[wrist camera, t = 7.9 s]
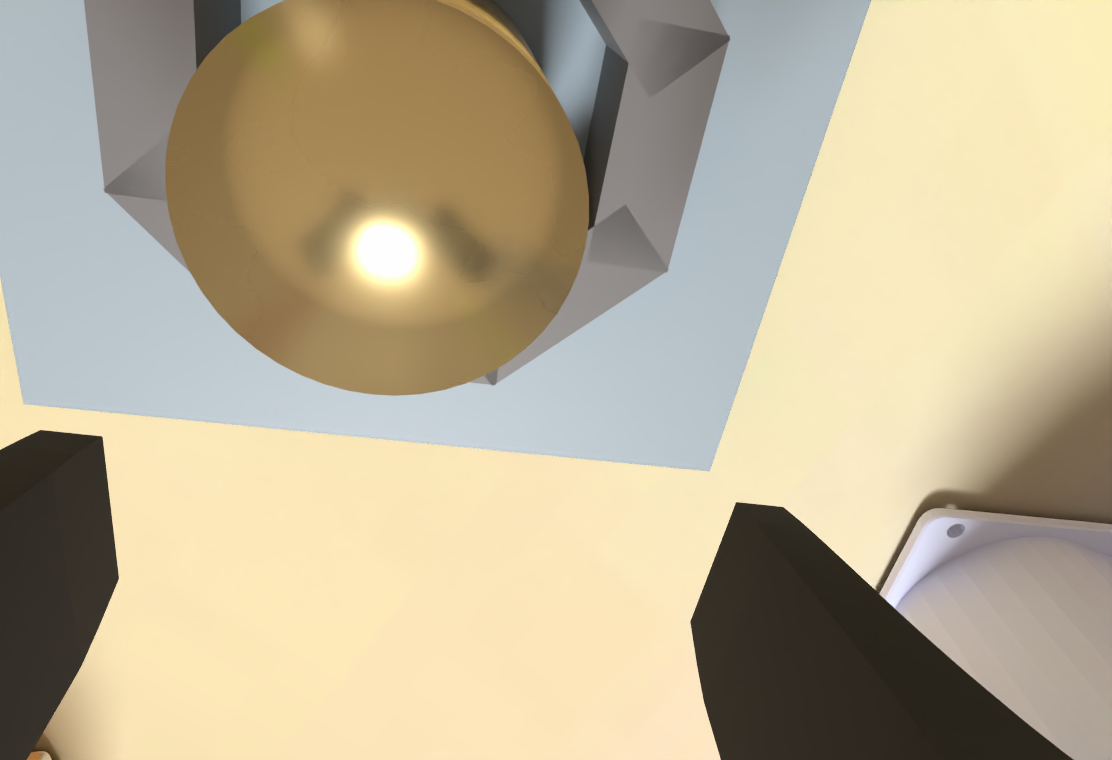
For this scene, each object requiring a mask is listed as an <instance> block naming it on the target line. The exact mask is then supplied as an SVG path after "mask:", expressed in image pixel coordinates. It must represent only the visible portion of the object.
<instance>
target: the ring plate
mask: <svg viewBox="0 0 1112 760" xmlns="http://www.w3.org/2000/svg"><path fill="white" fill-rule="evenodd" d="M282 1H285V0H0V279H1V285H2V290H3V295H4V301H5V306H6V311H7V317H8V322H9V327H10V333H11V338H12V343H13V349H14V354H15V360H16V365H17V370H18V376H19V381H20V386H21V392H22V397H23V402H24V404H29V405H39V406H49V407H59V408H69V409H80V410H90V411H100V412H110V413H120V414H131V415H141V416H151V417H161V418H171V419H182V420H192V421H202V422H212V423H222V424H232V425H243V426H253V427H263V428H273V429H283V430H294V431H304V432H314V433H324V434H334V435H344V436H355V437H365V438H375V439H385V440H395V441H406V442H416V443H426V444H436V445H446V446H457V447H467V448H477V449H487V450H497V451H507V452H518V453H528V454H538V455H548V456H558V457H569V458H579V459H589V460H599V461H609V462H620V463H630V464H640V465H650V466H660V467H670V468H681V469H691V470H701V471H710V469H711V466H712V463H713V460H714V457H715V454H716V451H717V448H718V445H719V442H720V439H721V436H722V434H723V431H724V428H725V425H726V422H727V419H728V416H729V413H730V410H731V407H732V404H733V401H734V399H735V396H736V393H737V390H738V387H739V384H740V381H741V378H742V375H743V372H744V369H745V366H746V364H747V361H748V358H749V355H750V352H751V349H752V346H753V343H754V340H755V337H756V334H757V331H758V329H759V326H760V323H761V320H762V317H763V314H764V311H765V308H766V305H767V302H768V299H769V296H770V294H771V291H772V288H773V285H774V282H775V279H776V276H777V273H778V270H779V267H780V264H781V261H782V259H783V256H784V253H785V250H786V247H787V244H788V241H789V238H790V235H791V232H792V229H793V226H794V224H795V221H796V218H797V215H798V212H799V209H800V206H801V203H802V200H803V197H804V194H805V191H806V189H807V186H808V183H809V180H810V177H811V174H812V171H813V168H814V165H815V162H816V159H817V156H818V154H819V151H820V148H821V145H822V142H823V139H824V136H825V133H826V130H827V127H828V124H829V121H830V119H831V116H832V113H833V110H834V107H835V104H836V101H837V98H838V95H839V92H840V89H841V86H842V84H843V81H844V78H845V75H846V72H847V69H848V66H849V63H850V60H851V57H852V54H853V51H854V49H855V46H856V43H857V40H858V37H859V34H860V31H861V28H862V25H863V22H864V19H865V16H866V14H867V11H868V8H869V5H870V2H871V0H493V1H495V2H496V3H497V4H498V5H499V6H500V7H501V8H502V9H503V10H504V11H505V12H506V13H507V15H508V16H509V17H510V18H511V20H512V21H513V22H514V24H515V25H516V26H517V28H518V29H519V31H520V32H521V34H522V36H523V38H524V39H525V41H526V43H527V45H528V46H529V48H530V50H531V52H532V54H533V55H534V57H535V59H536V61H537V63H538V64H539V66H540V68H541V70H542V72H543V73H544V75H545V77H546V79H547V81H548V82H549V84H550V86H551V88H552V90H553V91H554V93H555V95H556V97H557V99H558V100H559V102H560V104H561V106H562V108H563V109H564V111H565V113H566V115H567V117H568V119H569V121H570V124H571V126H572V129H573V131H574V134H575V136H576V138H577V141H578V143H579V147H580V151H581V155H582V158H583V162H584V166H585V170H586V177H587V185H588V193H589V224H588V232H587V239H586V246H585V250H584V254H583V258H582V261H581V265H580V268H579V272H578V274H577V276H576V279H575V281H574V283H573V286H572V288H571V290H570V293H569V294H568V296H567V298H566V300H565V301H564V303H563V305H562V306H561V308H560V310H559V311H558V313H557V314H556V316H555V317H554V318H553V320H552V321H551V322H550V323H549V325H548V326H547V327H546V329H545V330H544V331H543V332H542V333H541V334H540V335H539V336H538V337H537V338H536V339H535V340H534V341H533V342H532V343H531V344H530V345H529V346H528V347H527V348H526V349H525V350H523V351H522V352H521V353H519V354H518V355H517V356H515V357H514V358H513V359H512V360H510V361H509V362H508V363H506V364H504V365H502V366H501V367H499V368H497V369H496V370H494V371H492V372H490V373H489V374H487V375H484V376H482V377H480V378H478V379H475V380H473V381H471V382H468V383H466V384H462V385H459V386H456V387H452V388H449V389H446V390H441V391H436V392H430V393H425V394H416V395H400V396H392V395H372V394H366V393H359V392H353V391H347V390H344V389H340V388H336V387H332V386H329V385H325V384H322V383H320V382H317V381H314V380H312V379H309V378H307V377H304V376H302V375H299V374H297V373H296V372H294V371H292V370H290V369H288V368H286V367H284V366H282V365H280V364H278V363H277V362H275V361H274V360H272V359H271V358H269V357H268V356H266V355H265V354H263V353H262V352H260V351H259V350H257V349H256V348H254V347H253V346H252V345H251V344H250V343H248V342H247V341H246V340H245V339H244V338H243V337H241V336H240V335H239V334H238V333H237V332H235V331H234V329H233V328H232V327H231V326H230V325H229V324H228V323H227V322H226V321H225V320H224V319H223V318H222V317H221V316H220V315H219V314H218V313H217V311H216V310H215V309H214V307H213V306H212V305H211V303H210V302H209V301H208V299H207V298H206V297H205V295H204V294H203V293H202V291H201V290H200V288H199V287H198V285H197V283H196V281H195V280H194V278H193V276H192V274H191V273H190V271H189V269H188V268H187V265H186V263H185V261H184V258H183V256H182V254H181V251H180V249H179V246H178V244H177V242H176V238H175V235H174V231H173V227H172V224H171V220H170V217H169V211H168V204H167V197H166V190H165V158H166V151H167V145H168V138H169V132H170V128H171V125H172V122H173V119H174V115H175V112H176V109H177V106H178V103H179V101H180V99H181V97H182V95H183V93H184V91H185V89H186V87H187V85H188V83H189V81H190V79H191V77H192V76H193V75H194V73H195V72H196V70H197V69H198V67H199V66H200V65H201V63H202V62H203V60H204V59H205V57H206V56H207V55H208V54H209V53H210V52H211V51H212V50H213V49H214V48H215V47H216V46H217V45H218V44H219V43H220V42H221V40H222V39H223V38H224V37H225V36H226V35H227V34H229V33H230V32H231V31H233V30H234V29H235V28H237V27H238V26H239V25H241V24H242V23H244V22H245V21H246V20H248V19H249V18H250V17H252V16H254V15H256V14H258V13H260V12H261V11H263V10H265V9H267V8H269V7H271V6H273V5H275V4H277V3H279V2H282Z"/></svg>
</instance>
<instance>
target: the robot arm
mask: <svg viewBox="0 0 1112 760" xmlns="http://www.w3.org/2000/svg"><path fill="white" fill-rule="evenodd" d="M953 525H954V526H953ZM951 526H952V527H951ZM118 579H119V576H118V567H117V559H116V550H115V541H114V533H113V524H112V516H111V507H110V498H109V490H108V481H107V473H106V464H105V455H104V447H103V438H102V437H101V436H92V435H82V434H72V433H63V432H53V431H43V430H40V431H38V432H36V433H34V434H31V435H29V436H27V437H25V438H23V439H21V440H19V441H17V442H15V443H13V444H11V445H9V446H7V447H5V448H3V449H1V450H0V760H27V758H28V757H29V755H30V753H31V752H32V750H33V748H34V747H35V745H36V743H37V742H38V740H39V738H40V737H41V735H42V733H43V731H44V730H45V728H46V726H47V724H48V723H49V721H50V719H51V718H52V716H53V714H54V712H55V711H56V709H57V707H58V706H59V704H60V702H61V700H62V699H63V697H64V695H65V694H66V692H67V690H68V688H69V687H70V685H71V683H72V681H73V680H74V678H75V676H76V674H77V673H78V671H79V669H80V667H81V665H82V663H83V661H84V659H85V657H86V654H87V652H88V650H89V648H90V645H91V643H92V641H93V639H94V636H95V634H96V632H97V630H98V628H99V625H100V623H101V620H102V618H103V616H104V613H105V611H106V608H107V606H108V603H109V601H110V599H111V596H112V594H113V591H114V589H115V587H116V584H117V582H118ZM691 628H692V634H693V641H694V647H695V654H696V660H697V666H698V672H699V677H700V683H701V688H702V693H703V699H704V703H705V707H706V710H707V714H708V717H709V721H710V724H711V727H712V731H713V734H714V738H715V741H716V744H717V748H718V751H719V754H720V758H721V760H1112V524H1105V523H1094V522H1084V521H1073V520H1063V519H1052V518H1042V517H1031V516H1021V515H1010V514H1000V513H989V512H978V511H968V510H957V509H947V508H934V509H931V510H928V511H927V512H925V513H924V514H922V516H921V517H920V518H919V520H918V521H917V523H916V525H915V527H914V529H913V531H912V533H911V535H910V537H909V538H908V540H907V542H906V544H905V546H904V548H903V550H902V552H901V554H900V556H899V557H898V559H897V561H896V563H895V565H894V567H893V569H892V571H891V573H890V574H889V576H888V578H887V580H886V582H885V584H884V586H883V588H882V590H881V592H880V593H878V592H877V591H875V590H874V589H873V588H872V587H871V586H870V585H869V584H868V583H867V582H866V581H865V580H864V579H863V578H861V577H860V576H859V575H858V574H857V573H856V572H855V571H854V570H853V569H852V568H851V567H850V566H849V565H848V564H846V563H845V562H844V561H843V560H842V559H841V558H840V557H839V556H838V555H837V554H836V553H835V552H834V551H832V550H831V549H830V548H829V547H828V546H827V545H826V544H825V543H824V542H823V541H822V540H821V539H819V538H818V537H817V536H816V535H815V534H814V533H813V532H812V531H811V530H809V529H808V528H807V527H806V526H805V525H804V524H803V523H801V522H800V521H799V520H798V519H797V518H796V517H794V516H793V515H792V514H791V513H789V512H788V511H787V510H786V509H785V508H783V507H777V506H767V505H757V504H748V503H738V502H736V504H735V507H734V510H733V512H732V515H731V517H730V520H729V523H728V525H727V528H726V531H725V533H724V536H723V538H722V541H721V544H720V546H719V549H718V551H717V554H716V557H715V559H714V562H713V564H712V567H711V570H710V572H709V575H708V577H707V580H706V583H705V585H704V588H703V590H702V593H701V596H700V598H699V601H698V603H697V606H696V609H695V611H694V614H693V616H692V619H691Z"/></svg>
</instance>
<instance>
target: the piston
mask: <svg viewBox="0 0 1112 760" xmlns="http://www.w3.org/2000/svg"><path fill="white" fill-rule="evenodd" d="M165 190H166V197H167V204H168V211H169V217H170V220H171V224H172V227H173V231H174V235H175V238H176V242H177V244H178V246H179V249H180V251H181V254H182V256H183V258H184V261H185V263H186V265H187V268H188V269H189V271H190V273H191V274H192V276H193V278H194V280H195V281H196V283H197V285H198V287H199V288H200V290H201V291H202V293H203V294H204V295H205V297H206V298H207V299H208V301H209V302H210V303H211V305H212V306H213V307H214V309H215V310H216V311H217V313H218V314H219V315H220V316H221V317H222V318H223V319H224V320H225V321H226V322H227V323H228V324H229V325H230V326H231V327H232V328H233V329H234V331H235V332H237V333H238V334H239V335H240V336H241V337H243V338H244V339H245V340H246V341H247V342H248V343H250V344H251V345H252V346H253V347H254V348H256V349H257V350H259V351H260V352H262V353H263V354H265V355H266V356H268V357H269V358H271V359H272V360H274V361H275V362H277V363H278V364H280V365H282V366H284V367H286V368H288V369H290V370H292V371H294V372H296V373H297V374H299V375H302V376H304V377H307V378H309V379H312V380H314V381H317V382H320V383H322V384H325V385H329V386H332V387H336V388H340V389H344V390H347V391H353V392H359V393H366V394H372V395H392V396H400V395H416V394H425V393H430V392H436V391H441V390H446V389H449V388H452V387H456V386H459V385H462V384H466V383H468V382H471V381H473V380H475V379H478V378H480V377H482V376H484V375H487V374H489V373H490V372H492V371H494V370H496V369H497V368H499V367H501V366H502V365H504V364H506V363H508V362H509V361H510V360H512V359H513V358H514V357H515V356H517V355H518V354H519V353H521V352H522V351H523V350H525V349H526V348H527V347H528V346H529V345H530V344H531V343H532V342H533V341H534V340H535V339H536V338H537V337H538V336H539V335H540V334H541V333H542V332H543V331H544V330H545V329H546V327H547V326H548V325H549V323H550V322H551V321H552V320H553V318H554V317H555V316H556V314H557V313H558V311H559V310H560V308H561V306H562V305H563V303H564V301H565V300H566V298H567V296H568V294H569V293H570V290H571V288H572V286H573V283H574V281H575V279H576V276H577V274H578V272H579V268H580V265H581V261H582V258H583V254H584V250H585V246H586V239H587V232H588V224H589V193H588V185H587V177H586V170H585V166H584V162H583V158H582V155H581V151H580V147H579V143H578V141H577V138H576V136H575V134H574V131H573V129H572V126H571V124H570V121H569V119H568V117H567V115H566V113H565V111H564V109H563V108H562V106H561V104H560V102H559V100H558V99H557V97H556V95H555V93H554V91H553V90H552V88H551V86H550V84H549V82H548V81H547V79H546V77H545V75H544V73H543V72H542V70H541V68H540V66H539V64H538V63H537V61H536V59H535V57H534V55H533V54H532V52H531V50H530V48H529V46H528V45H527V43H526V41H525V39H524V38H523V36H522V34H521V32H520V31H519V29H518V28H517V26H516V25H515V24H514V22H513V21H512V20H511V18H510V17H509V16H508V15H507V13H506V12H505V11H504V10H503V9H502V8H501V7H500V6H499V5H498V4H497V3H496V2H495V1H493V0H285V1H282V2H279V3H277V4H275V5H273V6H271V7H269V8H267V9H265V10H263V11H261V12H260V13H258V14H256V15H254V16H252V17H250V18H249V19H248V20H246V21H245V22H244V23H242V24H241V25H239V26H238V27H237V28H235V29H234V30H233V31H231V32H230V33H229V34H227V35H226V36H225V37H224V38H223V39H222V40H221V42H220V43H219V44H218V45H217V46H216V47H215V48H214V49H213V50H212V51H211V52H210V53H209V54H208V55H207V56H206V57H205V59H204V60H203V62H202V63H201V65H200V66H199V67H198V69H197V70H196V72H195V73H194V75H193V76H192V77H191V79H190V81H189V83H188V85H187V87H186V89H185V91H184V93H183V95H182V97H181V99H180V101H179V103H178V106H177V109H176V112H175V115H174V119H173V122H172V125H171V128H170V132H169V138H168V145H167V151H166V158H165Z"/></svg>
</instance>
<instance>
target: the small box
mask: <svg viewBox="0 0 1112 760" xmlns="http://www.w3.org/2000/svg"><path fill="white" fill-rule="evenodd" d="M27 760H52V759H51V757H50V755H49V754H48V753H47V752H45V751H37V752H31V753H30V755H29V757H28V758H27Z"/></svg>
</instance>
